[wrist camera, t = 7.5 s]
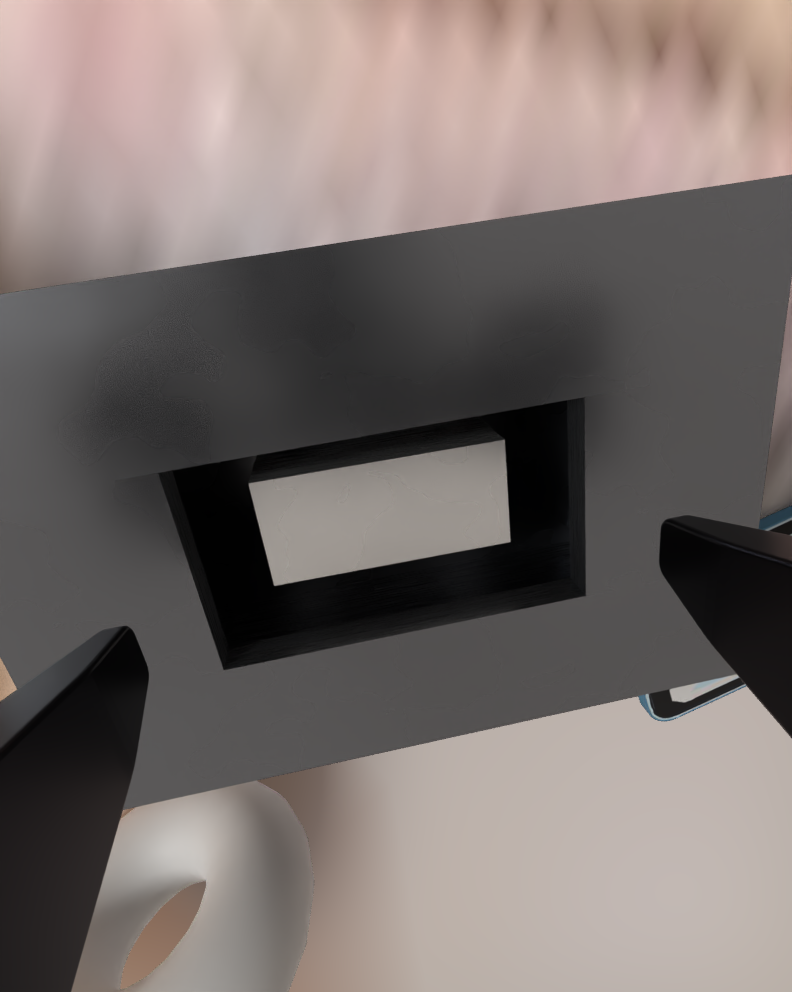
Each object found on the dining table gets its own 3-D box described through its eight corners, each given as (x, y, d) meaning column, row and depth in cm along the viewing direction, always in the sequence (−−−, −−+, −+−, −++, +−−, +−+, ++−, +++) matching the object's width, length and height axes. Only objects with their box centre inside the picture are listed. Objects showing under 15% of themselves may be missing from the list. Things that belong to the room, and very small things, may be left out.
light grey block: (284, 501, 17) (274, 585, 12) (266, 422, 16) (248, 483, 11) (458, 470, 17) (510, 541, 13) (451, 392, 16) (504, 440, 12)
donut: (291, 714, 21) (275, 1053, 12) (328, 772, 23) (338, 1116, 13) (53, 812, 21) (-142, 1220, 12) (104, 864, 23) (-37, 1266, 14)
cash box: (162, 633, 19) (85, 818, 13) (36, 299, 15) (-178, 321, 8) (603, 545, 20) (739, 673, 14) (606, 212, 16) (804, 172, 10)
